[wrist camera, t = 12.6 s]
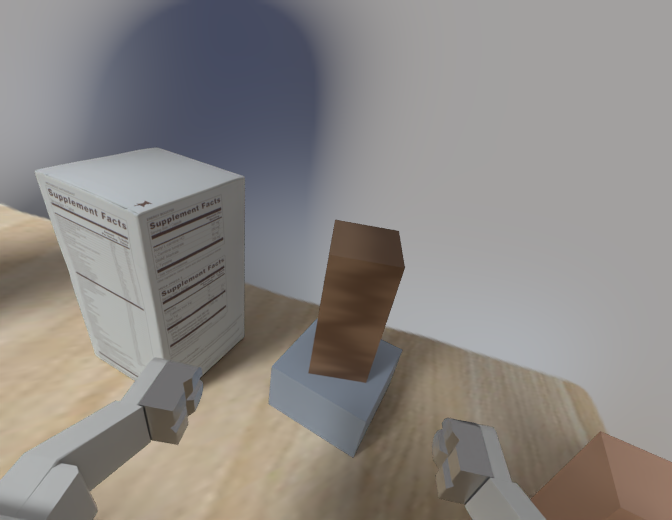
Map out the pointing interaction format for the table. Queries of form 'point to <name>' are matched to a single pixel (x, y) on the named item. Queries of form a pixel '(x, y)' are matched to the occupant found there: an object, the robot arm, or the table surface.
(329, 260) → the walnut post
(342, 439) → the slate block
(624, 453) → the terracotta post
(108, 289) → the supplement box
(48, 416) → the table surface
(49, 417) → the table surface
